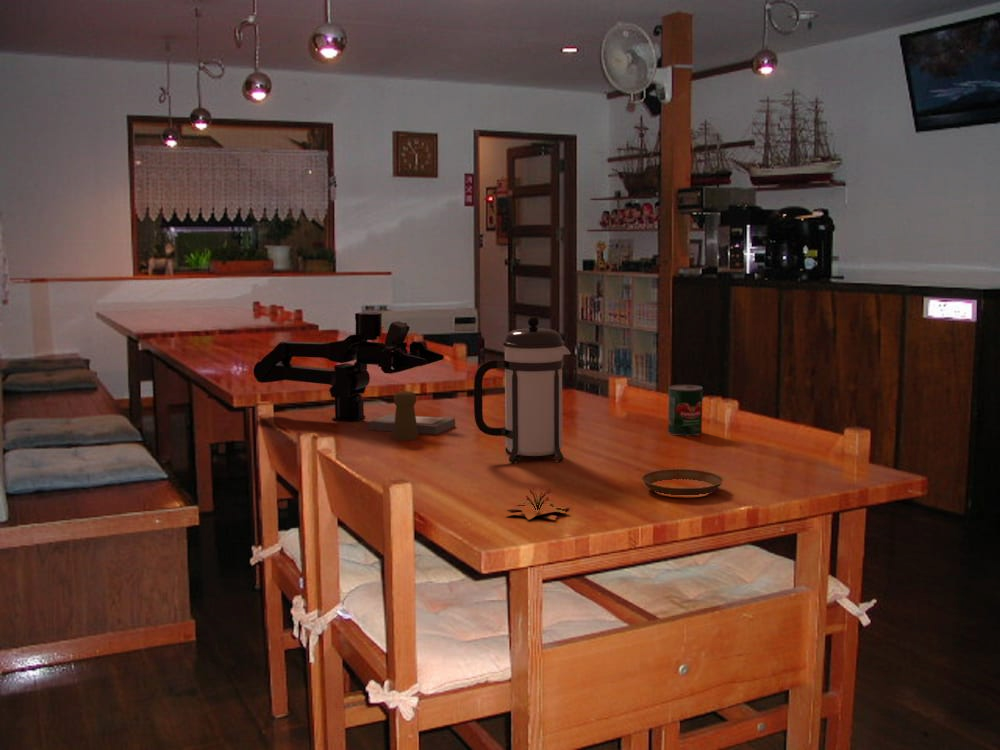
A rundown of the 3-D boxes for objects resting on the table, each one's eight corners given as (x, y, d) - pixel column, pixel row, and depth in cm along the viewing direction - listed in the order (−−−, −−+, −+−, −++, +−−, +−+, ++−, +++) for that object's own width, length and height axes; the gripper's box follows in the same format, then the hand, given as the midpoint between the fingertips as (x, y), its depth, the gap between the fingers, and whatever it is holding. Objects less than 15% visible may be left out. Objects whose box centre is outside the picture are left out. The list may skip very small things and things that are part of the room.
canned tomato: (687, 437, 233) (688, 390, 231) (661, 432, 239) (661, 387, 237) (708, 433, 238) (709, 387, 236) (682, 428, 244) (682, 383, 242)
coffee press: (529, 446, 225) (528, 312, 221) (583, 457, 214) (583, 316, 210) (472, 458, 213) (470, 317, 209) (526, 471, 202) (526, 321, 198)
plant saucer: (670, 506, 176) (670, 491, 176) (626, 487, 190) (626, 473, 189) (739, 496, 182) (739, 482, 182) (692, 478, 196) (693, 465, 195)
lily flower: (493, 522, 169) (492, 495, 168) (517, 503, 180) (517, 478, 179) (561, 528, 164) (561, 501, 164) (582, 509, 176) (582, 483, 175)
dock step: (369, 429, 246) (368, 421, 245) (390, 421, 256) (390, 413, 255) (436, 434, 239) (436, 425, 239) (455, 426, 249) (454, 417, 249)
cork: (417, 440, 232) (416, 393, 231) (391, 441, 232) (390, 393, 231) (420, 435, 238) (419, 389, 237) (394, 435, 238) (393, 389, 237)
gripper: (360, 325, 244) (417, 330, 238) (398, 319, 261) (452, 323, 255) (360, 370, 246) (416, 377, 240) (397, 361, 263) (451, 367, 257)
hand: (434, 359), depth 248 cm, fingers open, 9 cm apart
